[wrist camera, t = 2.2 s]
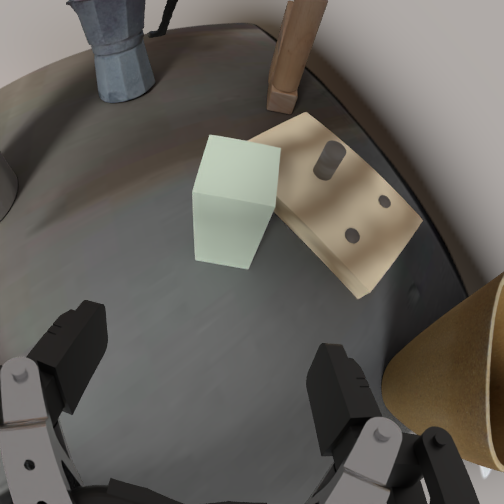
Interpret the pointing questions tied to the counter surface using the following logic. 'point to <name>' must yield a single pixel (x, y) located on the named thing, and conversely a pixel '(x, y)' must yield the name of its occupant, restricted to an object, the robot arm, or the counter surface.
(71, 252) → the counter surface
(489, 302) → the plant pot
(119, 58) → the moka pot
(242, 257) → the block
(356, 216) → the wooden board with holes
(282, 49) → the wooden block
